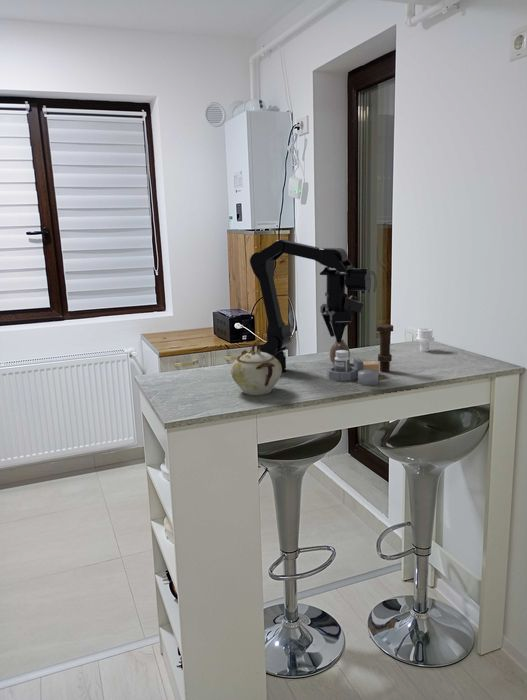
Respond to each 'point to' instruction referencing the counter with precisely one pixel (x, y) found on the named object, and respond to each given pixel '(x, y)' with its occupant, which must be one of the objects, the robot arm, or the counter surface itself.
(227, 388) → the counter surface
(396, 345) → the counter surface
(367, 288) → the robot arm
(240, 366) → the sugar bowl
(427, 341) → the pipe fitting
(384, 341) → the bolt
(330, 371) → the octagonal ring stamp
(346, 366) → the pill bottle
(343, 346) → the vase
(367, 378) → the grey rounded lump
